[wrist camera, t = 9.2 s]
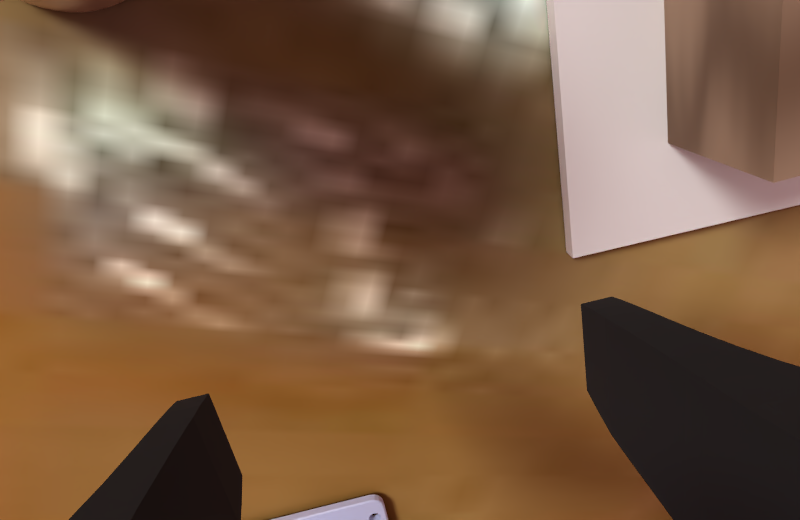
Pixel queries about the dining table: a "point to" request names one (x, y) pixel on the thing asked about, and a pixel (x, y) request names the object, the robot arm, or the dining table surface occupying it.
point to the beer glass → (73, 4)
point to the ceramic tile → (633, 135)
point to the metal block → (735, 83)
